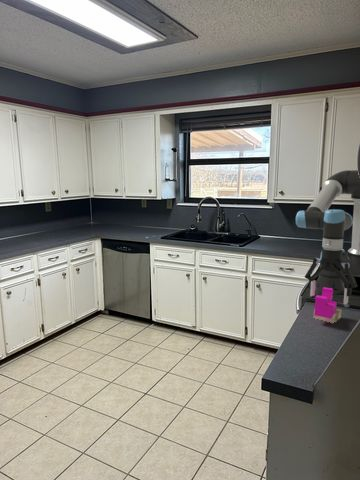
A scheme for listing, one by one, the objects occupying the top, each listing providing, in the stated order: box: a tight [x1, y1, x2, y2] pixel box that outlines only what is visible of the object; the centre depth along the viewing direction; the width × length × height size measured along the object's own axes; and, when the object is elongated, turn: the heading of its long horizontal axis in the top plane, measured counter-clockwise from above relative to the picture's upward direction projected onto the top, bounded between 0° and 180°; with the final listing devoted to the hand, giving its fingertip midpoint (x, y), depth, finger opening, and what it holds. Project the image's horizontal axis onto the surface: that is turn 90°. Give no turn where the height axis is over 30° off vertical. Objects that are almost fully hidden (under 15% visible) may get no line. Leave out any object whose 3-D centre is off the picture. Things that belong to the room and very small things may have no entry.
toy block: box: [313, 287, 338, 319], centre depth 142 cm, size 15×6×8 cm, turn 147°
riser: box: [313, 307, 342, 324], centre depth 144 cm, size 8×8×5 cm
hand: (328, 299), depth 143 cm, fingers open, 13 cm apart
